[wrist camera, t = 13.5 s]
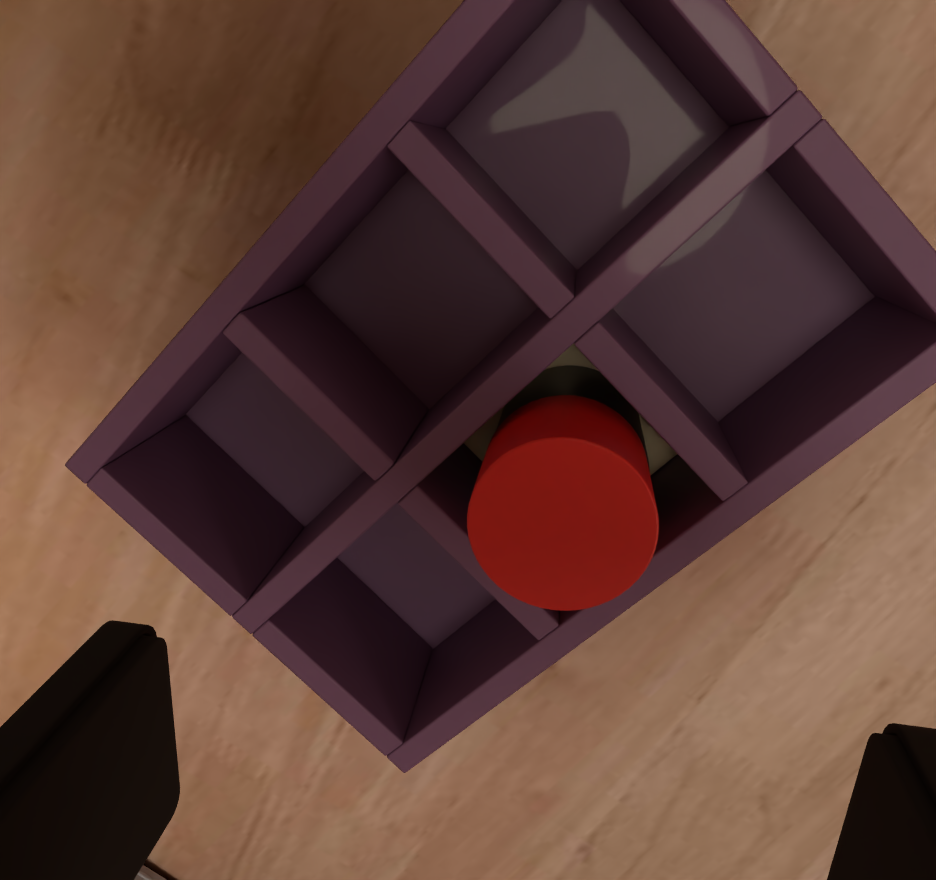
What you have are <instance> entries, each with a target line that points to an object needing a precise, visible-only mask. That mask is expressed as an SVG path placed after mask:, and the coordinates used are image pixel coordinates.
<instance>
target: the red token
mask: <svg viewBox="0 0 936 880" xmlns="http://www.w3.org/2000/svg"><path fill="white" fill-rule="evenodd" d="M467 530H468V537H469V541H470V545H471V548H472V550H473V553H474V555H475V557H476V559H477V561H478V563H479V564H480V566H481V568H482V569H483V570H484V572H485V573H486V574H487V575H488V577H489V578H490V579H491V580H492V581H493V582H494V583H495V584H496V585H497V586H498V587H500V588H501V589H502V590H504V591H505V592H506V593H508V594H509V595H511V596H513V597H514V598H516V599H518V600H520V601H523V602H525V603H527V604H530V605H533V606H536V607H539V608H544V609H550V610H560V611H571V610H581V609H587V608H591V607H594V606H598V605H601V604H603V603H606V602H608V601H610V600H612V599H614V598H616V597H617V596H619V595H621V594H622V593H623V592H625V591H626V590H627V589H629V588H630V587H631V586H632V585H633V584H634V583H635V582H636V581H637V580H638V579H639V578H640V577H641V575H642V574H643V573H644V571H645V570H646V568H647V567H648V565H649V563H650V561H651V560H652V557H653V554H654V552H655V549H656V545H657V541H658V535H659V516H658V510H657V506H656V501H655V496H654V491H653V486H652V481H651V477H650V472H649V467H648V462H647V457H646V453H645V450H644V447H643V444H642V442H641V440H640V438H639V436H638V434H637V433H636V431H635V430H634V429H633V427H632V426H631V425H630V424H629V423H628V422H627V421H626V419H625V418H624V417H622V416H621V415H620V414H619V413H617V412H616V411H615V410H613V409H612V408H610V407H608V406H607V405H605V404H603V403H600V402H598V401H596V400H593V399H589V398H586V397H581V396H574V395H557V396H549V397H545V398H540V399H538V400H535V401H532V402H530V403H528V404H526V405H524V406H522V407H520V408H519V409H517V410H516V411H514V412H513V413H512V414H510V415H509V416H508V417H507V418H506V419H505V420H504V421H503V422H502V423H501V425H500V426H499V427H498V428H497V430H496V432H495V433H494V435H493V436H492V439H491V441H490V443H489V445H488V448H487V451H486V454H485V457H484V460H483V462H482V465H481V468H480V471H479V474H478V477H477V480H476V483H475V486H474V488H473V491H472V494H471V498H470V501H469V505H468V512H467Z"/></svg>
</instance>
